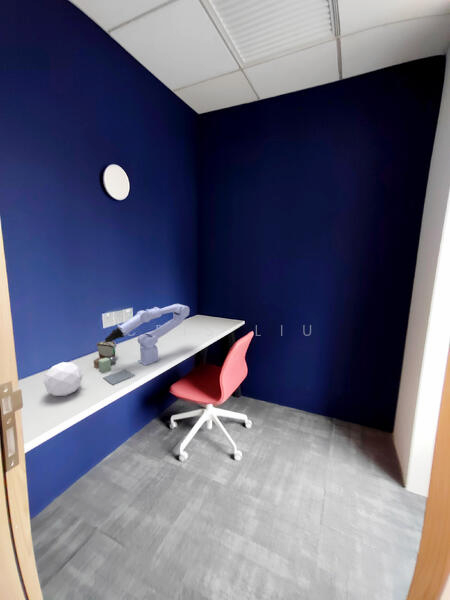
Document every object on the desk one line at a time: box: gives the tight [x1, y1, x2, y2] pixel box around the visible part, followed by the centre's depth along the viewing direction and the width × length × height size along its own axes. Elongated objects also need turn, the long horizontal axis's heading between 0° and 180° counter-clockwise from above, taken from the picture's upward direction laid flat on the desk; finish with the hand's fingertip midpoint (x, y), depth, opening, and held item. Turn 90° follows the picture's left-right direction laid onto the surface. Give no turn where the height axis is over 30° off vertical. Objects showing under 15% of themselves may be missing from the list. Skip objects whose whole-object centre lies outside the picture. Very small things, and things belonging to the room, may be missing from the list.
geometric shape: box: [43, 361, 83, 397], centre depth 114 cm, size 14×15×15 cm
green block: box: [98, 357, 112, 374], centre depth 137 cm, size 4×4×6 cm
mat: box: [102, 368, 136, 386], centre depth 130 cm, size 12×10×1 cm
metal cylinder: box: [108, 355, 117, 366], centre depth 144 cm, size 4×4×4 cm
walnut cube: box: [93, 357, 102, 370], centre depth 141 cm, size 4×4×4 cm
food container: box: [96, 340, 117, 359], centre depth 151 cm, size 12×6×10 cm, turn 74°
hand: (106, 340), depth 130 cm, fingers open, 7 cm apart
